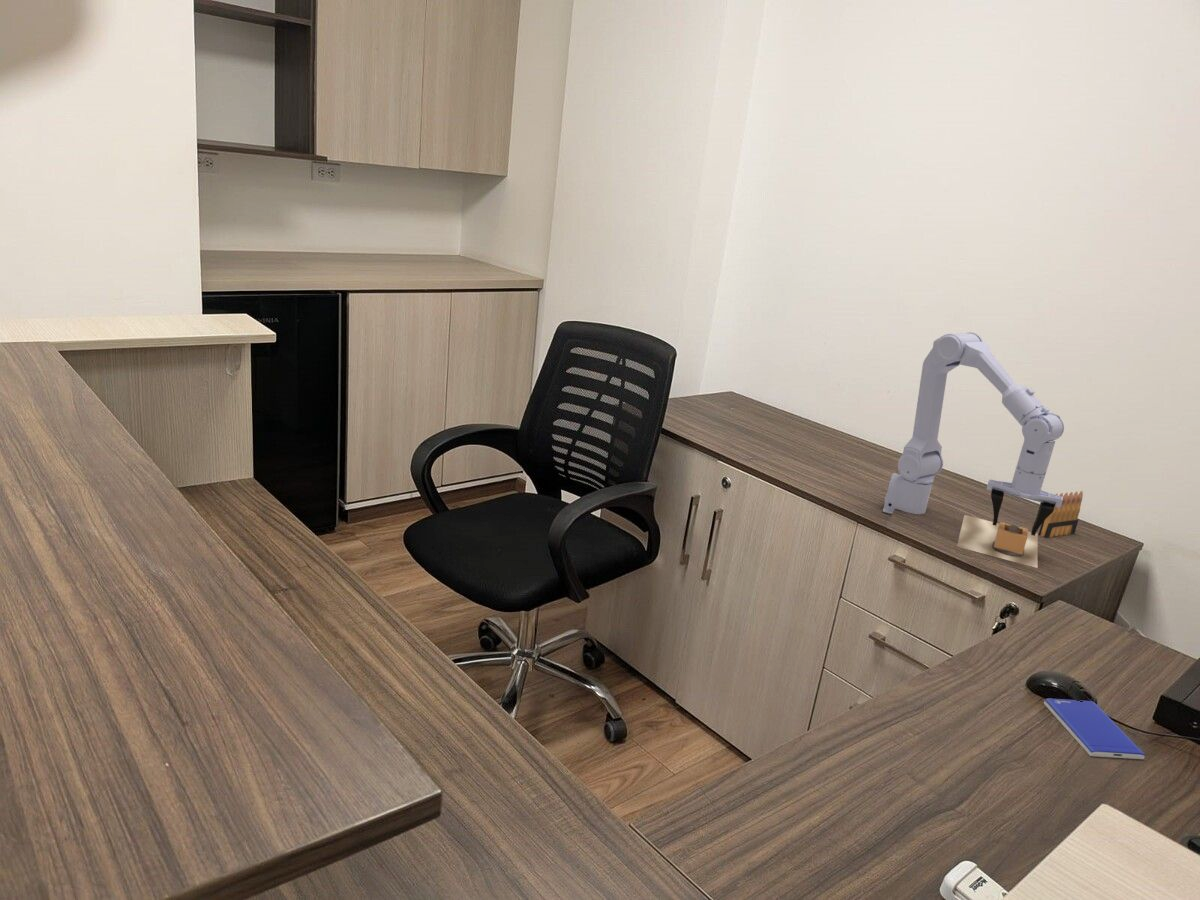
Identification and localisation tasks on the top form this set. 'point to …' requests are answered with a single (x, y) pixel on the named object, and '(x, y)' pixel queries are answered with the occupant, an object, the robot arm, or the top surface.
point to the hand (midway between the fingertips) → (1013, 528)
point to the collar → (1011, 539)
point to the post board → (982, 540)
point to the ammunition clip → (1063, 517)
